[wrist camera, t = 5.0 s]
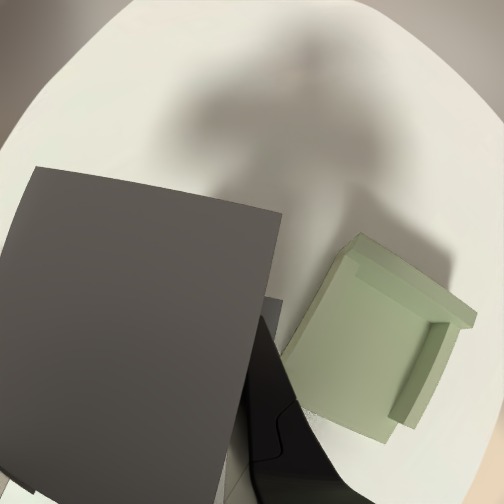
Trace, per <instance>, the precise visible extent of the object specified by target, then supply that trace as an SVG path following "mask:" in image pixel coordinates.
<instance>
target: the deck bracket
mask: <svg viewBox="0 0 504 504" xmlns="http://www.w3.org/2000/svg"><path fill="white" fill-rule="evenodd" d="M476 316H477V312H476V311H475V310H473V309H472V308H471V307H469V306H468V305H467V304H465V303H464V302H462V301H461V300H460V299H458V298H457V297H456V296H454V295H453V294H452V293H450V292H449V291H447V290H446V289H445V288H443V287H442V286H440V285H439V284H438V283H436V282H435V281H433V280H432V279H430V278H429V277H428V276H426V275H425V274H423V273H422V272H420V271H419V270H417V269H416V268H414V267H413V266H411V265H410V264H409V263H407V262H406V261H404V260H403V259H401V258H400V257H398V256H397V255H395V254H393V253H392V252H390V251H389V250H387V249H386V248H384V247H383V246H381V245H380V244H378V243H377V242H375V241H373V240H372V239H370V238H369V237H367V236H365V235H364V234H362V233H360V234H358V235H357V236H356V237H355V238H354V239H353V240H352V241H350V242H349V243H348V244H347V245H346V246H345V247H344V248H342V249H341V250H340V251H339V252H338V254H337V256H336V258H335V260H334V262H333V264H332V266H331V268H330V270H329V272H328V274H327V275H326V277H325V279H324V281H323V283H322V285H321V287H320V289H319V290H318V292H317V294H316V296H315V298H314V300H313V301H312V303H311V305H310V307H309V309H308V310H307V312H306V314H305V316H304V317H303V319H302V321H301V323H300V324H299V326H298V328H297V330H296V331H295V333H294V335H293V337H292V338H291V340H290V342H289V343H288V345H287V347H286V348H285V350H284V352H283V353H282V355H281V357H280V358H281V360H282V363H283V365H284V368H285V370H286V372H287V375H288V377H289V380H290V382H291V384H292V387H293V389H294V392H295V394H296V396H297V400H298V401H299V403H300V406H301V407H303V408H305V409H307V410H309V411H311V412H313V413H315V414H317V415H320V416H322V417H324V418H326V419H328V420H330V421H332V422H334V423H337V424H339V425H341V426H343V427H345V428H348V429H350V430H352V431H355V432H357V433H359V434H362V435H364V436H366V437H369V438H371V439H374V440H376V441H379V442H381V443H384V444H386V442H387V441H388V439H389V437H390V436H391V434H392V432H393V431H394V429H395V427H396V426H397V424H398V422H399V423H401V424H403V425H405V426H407V427H410V428H412V429H415V428H416V426H417V424H418V422H419V421H420V419H421V417H422V415H423V413H424V411H425V409H426V407H427V405H428V403H429V401H430V399H431V397H432V395H433V393H434V391H435V389H436V387H437V385H438V383H439V381H440V378H441V376H442V374H443V372H444V369H445V367H446V365H447V362H448V360H449V357H450V355H451V353H452V350H453V347H454V345H455V342H456V340H457V337H458V334H459V331H460V329H468V328H473V325H474V322H475V319H476Z"/></svg>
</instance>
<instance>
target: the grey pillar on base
mask: <svg viewBox="0 0 504 504" xmlns="http://www.w3.org/2000/svg"><path fill="white" fill-rule="evenodd" d="M281 217H282V213H277V212H273V211H269V210H265V209H260V208H256V207H251V206H247V205H243V204H238V203H234V202H229V201H224V200H220V199H215V198H211V197H206V196H201V195H196V194H191V193H187V192H182V191H177V190H172V189H167V188H161V187H156V186H151V185H146V184H140V183H135V182H130V181H124V180H118V179H113V178H107V177H101V176H95V175H89V174H83V173H77V172H71V171H64V170H58V169H51V168H44V167H37V166H36V167H35V169H34V171H33V174H32V176H31V178H30V180H29V182H28V184H27V187H26V189H25V191H24V194H23V196H22V198H21V201H20V203H19V206H18V208H17V211H16V213H15V216H14V218H13V221H12V224H11V226H10V229H9V232H8V235H7V238H6V241H5V244H4V247H3V250H2V253H1V257H0V466H1V467H2V468H4V469H5V470H6V471H8V472H9V473H11V474H12V475H13V476H15V477H16V478H18V479H19V480H21V481H22V482H24V483H25V484H27V485H28V486H30V487H31V488H33V489H35V490H36V491H38V492H39V493H41V494H43V495H44V496H46V497H48V498H50V499H51V500H53V501H55V502H57V503H58V504H213V503H214V499H215V495H216V491H217V488H218V484H219V480H220V476H221V473H222V469H223V465H224V461H225V457H226V453H227V449H228V445H229V442H230V438H231V434H232V430H233V426H234V422H235V418H236V414H237V410H238V406H239V401H240V397H241V393H242V389H243V385H244V381H245V377H246V373H247V368H248V364H249V360H250V356H251V352H252V347H253V343H254V339H255V335H256V330H257V326H258V322H259V317H260V314H261V315H263V316H264V319H265V321H266V324H267V326H268V328H269V331H270V333H271V336H272V338H273V341H274V339H275V334H276V330H277V325H278V321H279V316H280V312H281V307H282V303H283V300H278V299H274V298H270V297H265V296H264V295H265V291H266V286H267V282H268V277H269V273H270V268H271V264H272V259H273V255H274V250H275V245H276V241H277V236H278V232H279V227H280V222H281Z"/></svg>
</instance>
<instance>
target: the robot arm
mask: <svg viewBox="0 0 504 504" xmlns="http://www.w3.org/2000/svg"><path fill="white" fill-rule="evenodd" d="M9 480H12V481H13V482H15V483H16V484H18V485H19V486H20V487H22V488H23V489H25V490H26V491H28V492H30V493H31V494H33V495H34V493H35V491H36V490H35V489H33V488H31V487H30V486H28V485H27V484H25V483H24V482H22V481H21V480H19V479H18V478H16V477H15V476H13V475H12V474H11V473H9V472H8V471H6V470H5V469H4V468H2V467H1V466H0V499H1V496H2V494H3V492H4V490H5V488H6V486H7V484H8V482H9ZM223 504H375V503H374V502H372V501H370V500H369V499H367V498H365V497H364V496H362V495H360V494H359V493H357V492H356V491H354V490H353V489H351V488H350V487H349V486H348V485H347V484H346V483H345V482H344V481H343V480H342V478H341V477H340V476H339V474H338V473H337V471H336V470H335V468H334V466H333V465H332V463H331V461H330V460H329V458H328V456H327V455H326V453H325V452H324V450H323V448H322V447H321V445H320V443H319V442H318V440H317V438H316V436H315V435H314V433H313V431H312V429H311V427H310V426H309V424H308V421H307V419H306V417H305V415H304V413H303V411H302V408H301V406H300V403H299V401H298V400H297V396H296V394H295V392H294V389H293V387H292V384H291V382H290V380H289V377H288V375H287V372H286V370H285V368H284V365H283V363H282V360H281V358H280V355H279V353H278V350H277V348H276V346H275V343H274V341H273V338H272V336H271V333H270V331H269V328H268V326H267V324H266V321H265V319H264V316H263V315H261V314H260V317H259V322H258V326H257V330H256V335H255V339H254V343H253V347H252V352H251V356H250V360H249V364H248V368H247V373H246V377H245V381H244V385H243V389H242V393H241V397H240V401H239V406H238V410H237V414H236V418H235V422H234V426H233V430H232V434H231V438H230V442H229V445H228V452H227V464H226V476H225V488H224V501H223Z"/></svg>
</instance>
